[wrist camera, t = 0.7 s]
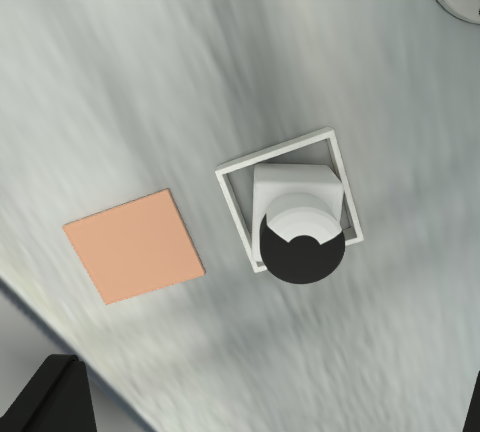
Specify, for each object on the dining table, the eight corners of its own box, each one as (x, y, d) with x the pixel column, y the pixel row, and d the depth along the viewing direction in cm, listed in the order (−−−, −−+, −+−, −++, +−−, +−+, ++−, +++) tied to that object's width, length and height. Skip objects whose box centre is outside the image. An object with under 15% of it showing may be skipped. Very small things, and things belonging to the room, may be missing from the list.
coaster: (168, 188, 37) (166, 189, 36) (205, 272, 40) (204, 274, 39) (64, 224, 39) (61, 226, 38) (108, 301, 42) (106, 305, 41)
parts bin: (328, 126, 34) (333, 129, 32) (357, 230, 37) (363, 240, 35) (217, 165, 36) (214, 171, 33) (255, 261, 39) (254, 273, 37)
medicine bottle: (321, 232, 38) (349, 298, 26) (252, 230, 38) (250, 294, 27) (328, 164, 35) (362, 204, 24) (254, 162, 35) (253, 200, 24)
